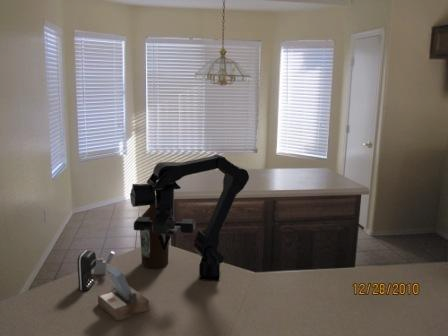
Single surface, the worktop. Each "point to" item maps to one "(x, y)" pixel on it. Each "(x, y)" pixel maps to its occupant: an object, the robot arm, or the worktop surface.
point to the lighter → (103, 264)
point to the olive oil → (152, 245)
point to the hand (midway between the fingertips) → (164, 250)
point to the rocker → (119, 282)
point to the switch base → (132, 307)
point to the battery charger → (86, 269)
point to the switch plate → (113, 300)
